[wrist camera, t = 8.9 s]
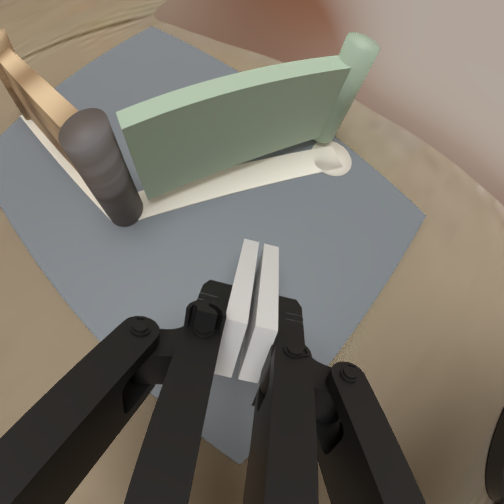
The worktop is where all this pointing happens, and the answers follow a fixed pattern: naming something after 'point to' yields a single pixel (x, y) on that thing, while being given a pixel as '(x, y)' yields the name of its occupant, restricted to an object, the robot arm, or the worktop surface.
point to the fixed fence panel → (74, 136)
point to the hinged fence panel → (243, 116)
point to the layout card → (204, 224)
